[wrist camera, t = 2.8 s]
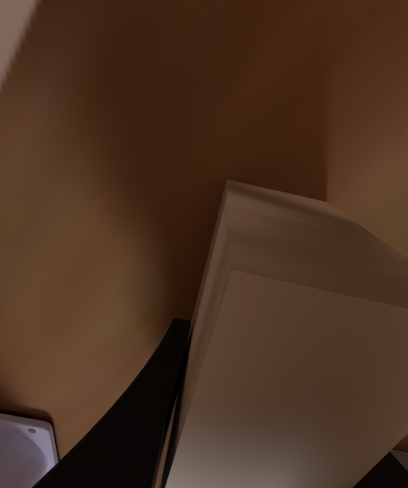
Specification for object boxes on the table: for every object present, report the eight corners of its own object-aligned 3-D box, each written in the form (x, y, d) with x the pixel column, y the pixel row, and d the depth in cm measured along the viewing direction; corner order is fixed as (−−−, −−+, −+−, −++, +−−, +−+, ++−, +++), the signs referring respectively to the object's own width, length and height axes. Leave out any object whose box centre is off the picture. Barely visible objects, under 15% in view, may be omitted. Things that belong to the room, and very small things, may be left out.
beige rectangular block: (172, 395, 13) (138, 575, 8) (226, 178, 8) (231, 270, 3) (234, 408, 14) (242, 595, 8) (326, 201, 8) (511, 331, 3)
